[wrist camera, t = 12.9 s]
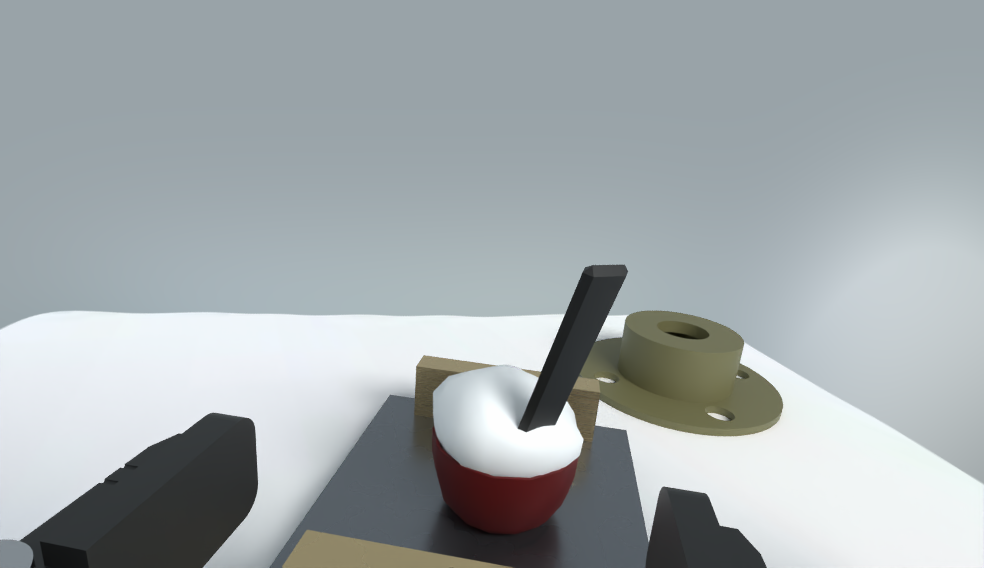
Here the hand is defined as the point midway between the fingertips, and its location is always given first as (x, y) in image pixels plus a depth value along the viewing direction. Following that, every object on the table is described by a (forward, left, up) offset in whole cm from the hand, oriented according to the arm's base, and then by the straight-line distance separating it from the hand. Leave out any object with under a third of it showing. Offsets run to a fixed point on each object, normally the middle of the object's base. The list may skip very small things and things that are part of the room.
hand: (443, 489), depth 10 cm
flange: (-12, -30, -11) cm, 34 cm away
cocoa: (0, -11, -9) cm, 14 cm away
